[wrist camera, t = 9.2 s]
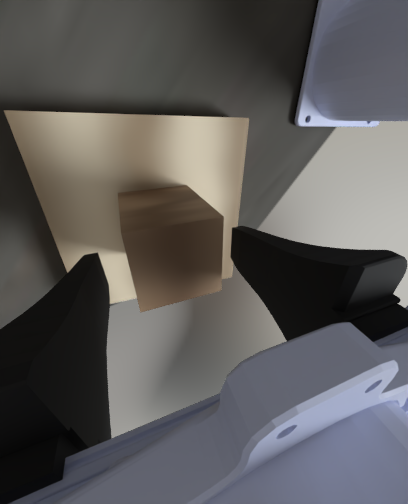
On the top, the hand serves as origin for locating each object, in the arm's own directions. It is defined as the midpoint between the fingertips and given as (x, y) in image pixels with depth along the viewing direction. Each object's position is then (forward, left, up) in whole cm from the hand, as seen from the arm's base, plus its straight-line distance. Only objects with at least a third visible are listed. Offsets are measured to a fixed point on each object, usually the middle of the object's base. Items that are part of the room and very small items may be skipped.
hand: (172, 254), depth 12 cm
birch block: (0, 0, -8) cm, 8 cm away
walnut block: (0, 0, -4) cm, 5 cm away
